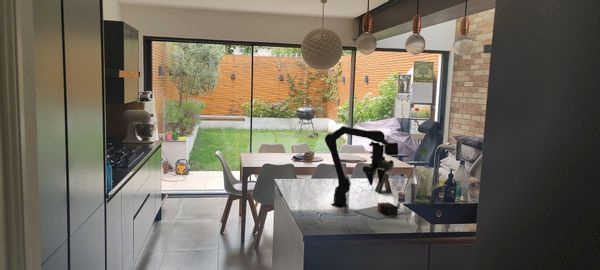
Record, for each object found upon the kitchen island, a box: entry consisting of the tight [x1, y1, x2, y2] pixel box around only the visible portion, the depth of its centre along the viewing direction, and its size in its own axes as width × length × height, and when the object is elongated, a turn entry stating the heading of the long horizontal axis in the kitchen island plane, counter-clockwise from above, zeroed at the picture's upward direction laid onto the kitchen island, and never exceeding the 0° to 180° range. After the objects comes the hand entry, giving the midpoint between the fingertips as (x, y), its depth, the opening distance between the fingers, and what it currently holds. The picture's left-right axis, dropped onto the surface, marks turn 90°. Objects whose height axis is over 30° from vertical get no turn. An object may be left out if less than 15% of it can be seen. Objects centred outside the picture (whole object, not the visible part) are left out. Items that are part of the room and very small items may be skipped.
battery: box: [377, 201, 399, 217], centre depth 218 cm, size 4×7×10 cm
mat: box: [353, 205, 404, 220], centre depth 220 cm, size 16×20×1 cm
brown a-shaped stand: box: [374, 172, 393, 194], centre depth 266 cm, size 9×6×12 cm, turn 100°
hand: (375, 183), depth 227 cm, fingers open, 9 cm apart
